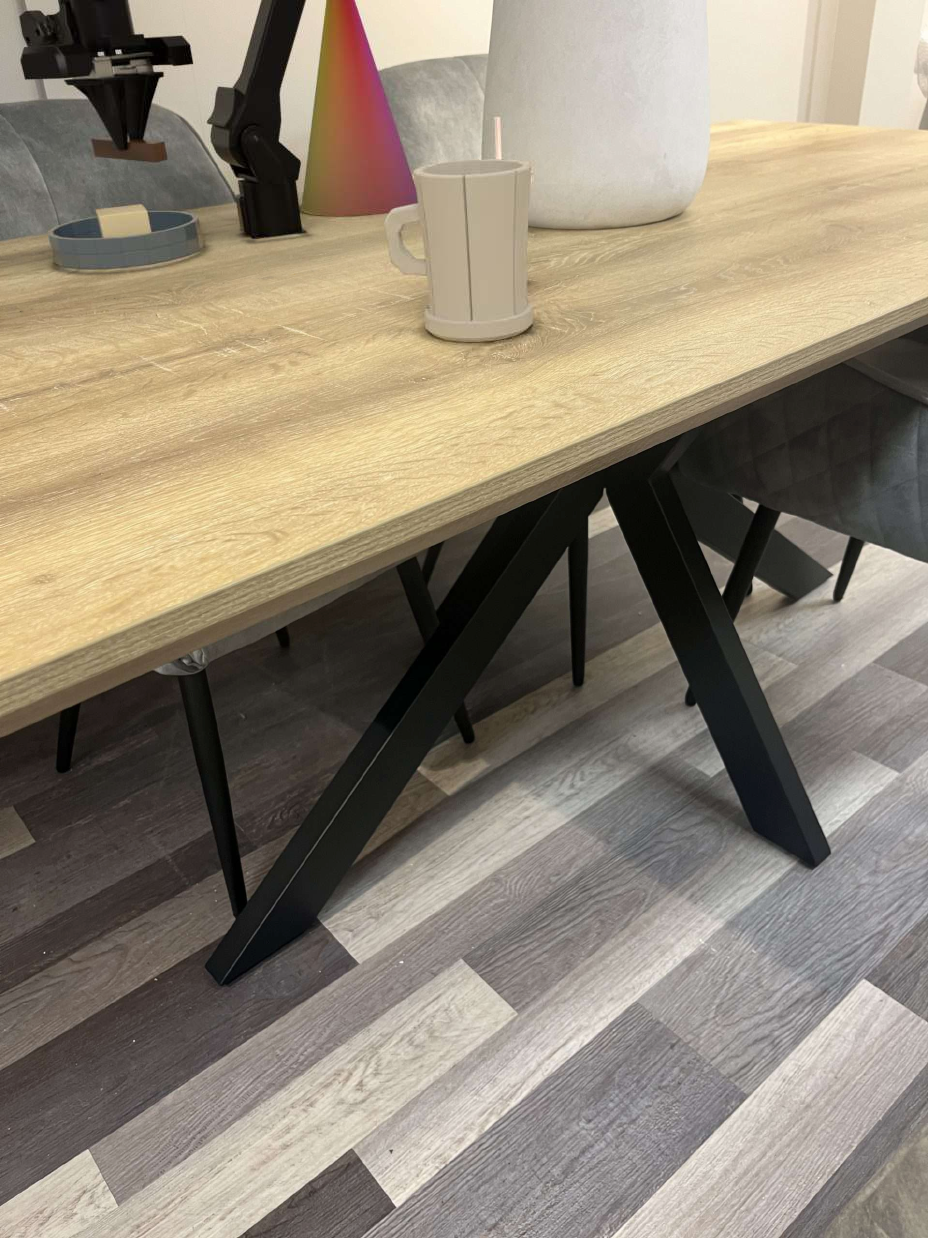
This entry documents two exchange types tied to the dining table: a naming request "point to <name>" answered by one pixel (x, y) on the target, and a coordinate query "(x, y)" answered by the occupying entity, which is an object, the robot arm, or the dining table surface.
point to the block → (123, 221)
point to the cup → (469, 247)
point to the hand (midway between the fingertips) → (130, 148)
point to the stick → (130, 149)
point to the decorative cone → (352, 128)
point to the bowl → (126, 242)
